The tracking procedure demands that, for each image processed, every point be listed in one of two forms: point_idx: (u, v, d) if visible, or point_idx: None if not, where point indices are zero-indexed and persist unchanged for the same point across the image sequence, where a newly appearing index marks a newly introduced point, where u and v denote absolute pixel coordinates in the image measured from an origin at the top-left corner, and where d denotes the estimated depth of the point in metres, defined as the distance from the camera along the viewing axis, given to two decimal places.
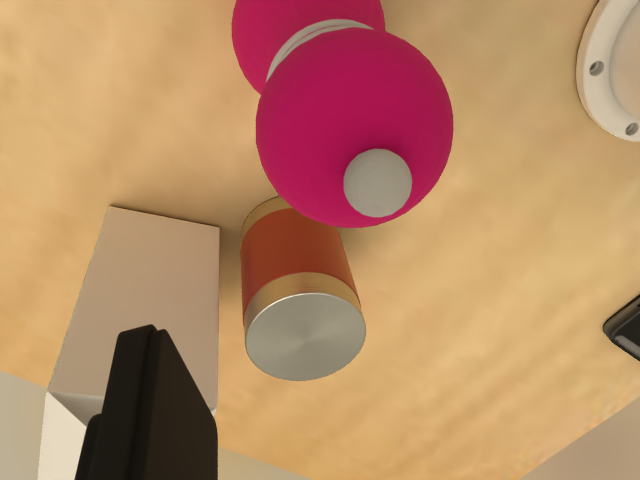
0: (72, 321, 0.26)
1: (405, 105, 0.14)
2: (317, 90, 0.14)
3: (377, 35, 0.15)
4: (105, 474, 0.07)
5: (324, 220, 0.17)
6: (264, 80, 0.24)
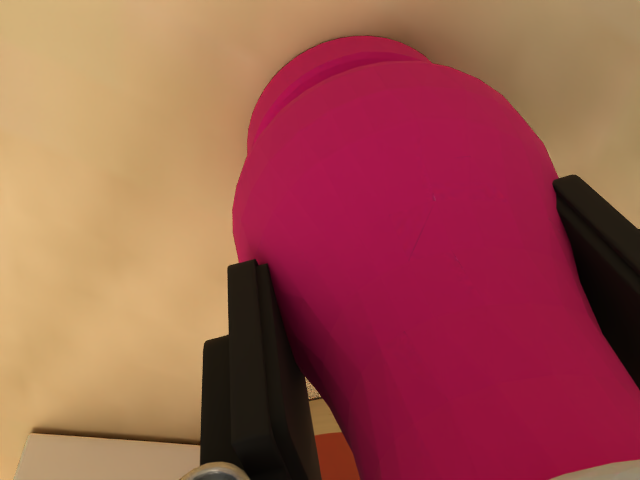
0: None
1: None
2: None
3: None
4: (246, 373, 0.08)
5: None
6: (311, 381, 0.10)
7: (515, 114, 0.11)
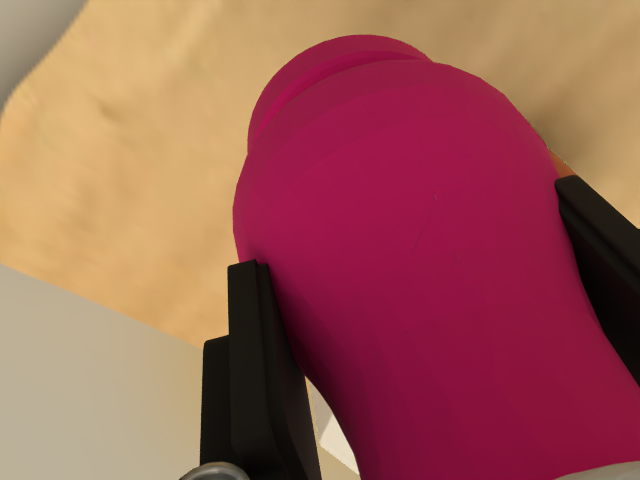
0: None
1: None
2: None
3: None
4: (246, 373, 0.08)
5: None
6: (312, 381, 0.10)
7: (516, 113, 0.11)
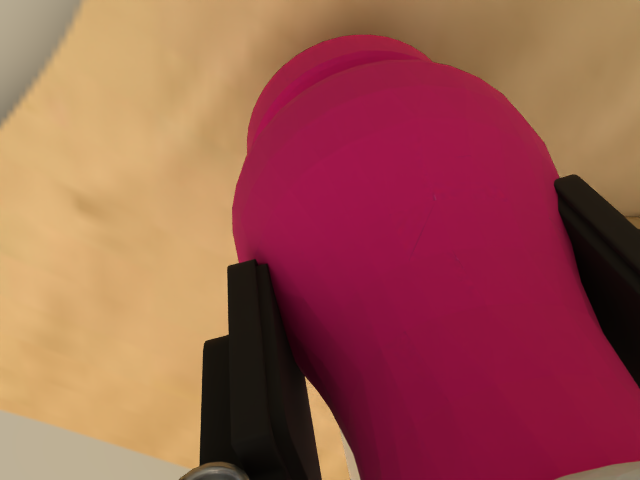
0: None
1: None
2: None
3: None
4: (246, 374, 0.08)
5: None
6: (311, 381, 0.10)
7: (516, 113, 0.11)
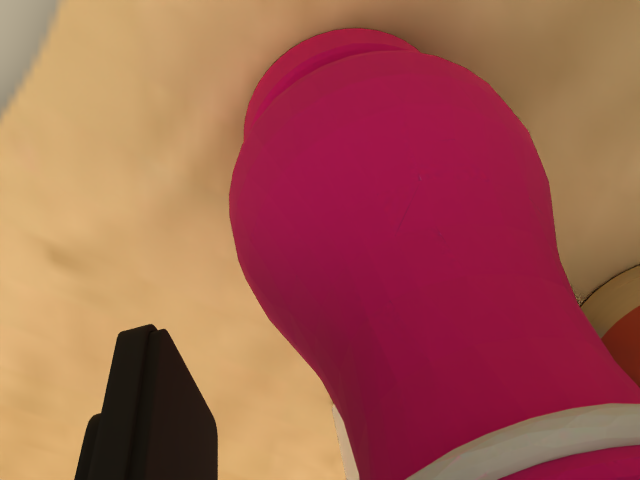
0: None
1: None
2: None
3: None
4: (105, 474, 0.07)
5: None
6: (304, 356, 0.11)
7: (500, 101, 0.11)
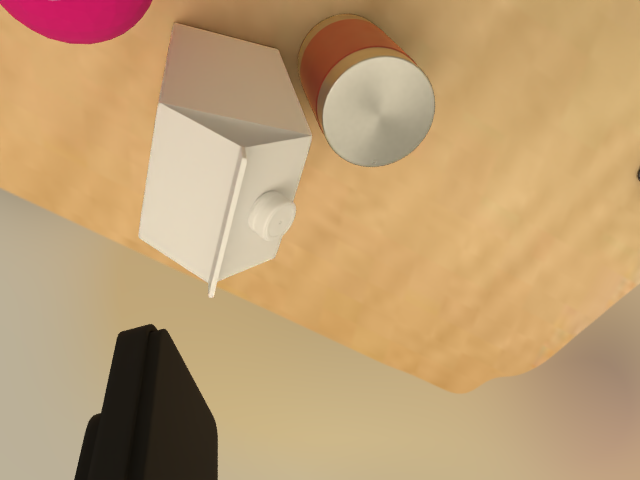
0: (166, 72, 0.27)
1: None
2: None
3: None
4: (105, 474, 0.07)
5: (41, 27, 0.19)
6: None
7: None
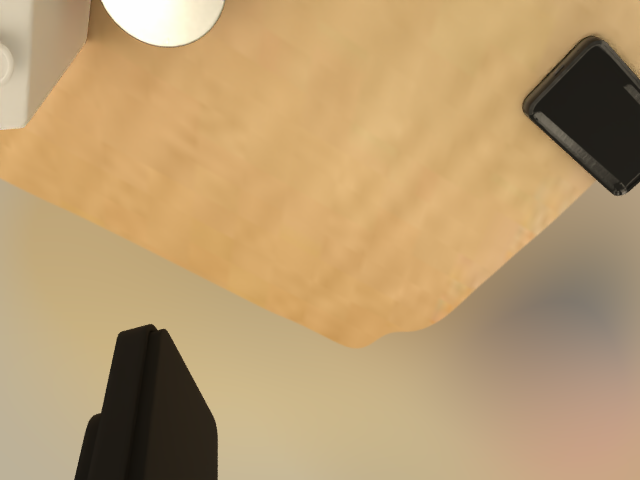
0: None
1: None
2: None
3: None
4: (105, 474, 0.07)
5: None
6: None
7: None
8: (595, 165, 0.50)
